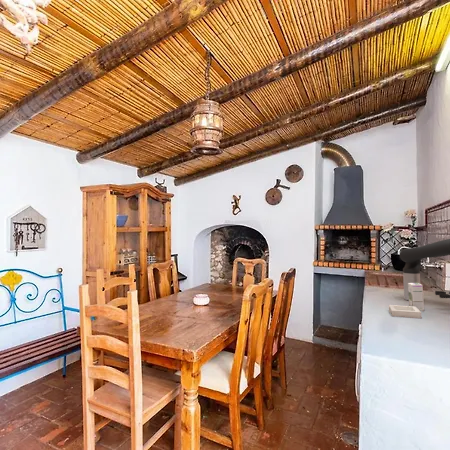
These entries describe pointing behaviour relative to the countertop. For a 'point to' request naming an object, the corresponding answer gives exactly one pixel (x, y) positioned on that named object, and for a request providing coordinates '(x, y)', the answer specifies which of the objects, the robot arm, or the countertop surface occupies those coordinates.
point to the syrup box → (416, 295)
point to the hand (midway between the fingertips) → (437, 294)
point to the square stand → (404, 311)
